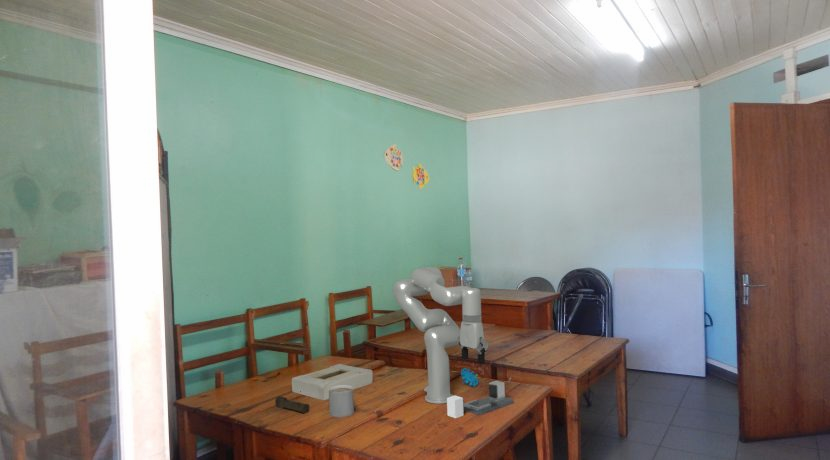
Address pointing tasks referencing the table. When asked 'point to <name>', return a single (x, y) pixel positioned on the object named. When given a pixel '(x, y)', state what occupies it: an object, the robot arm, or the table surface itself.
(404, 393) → the table surface
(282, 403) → the hand tool
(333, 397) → the coffee mug
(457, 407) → the block
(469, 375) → the gear
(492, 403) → the rail
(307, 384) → the box
